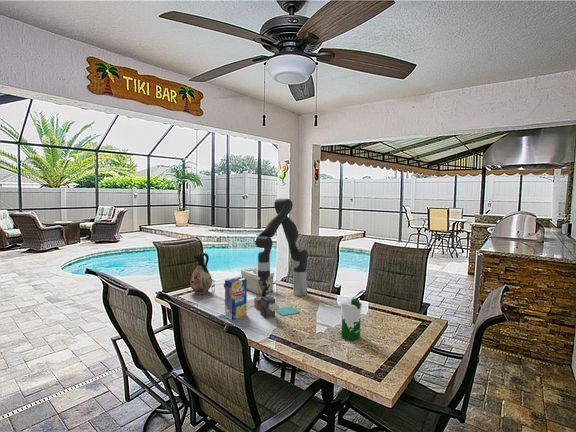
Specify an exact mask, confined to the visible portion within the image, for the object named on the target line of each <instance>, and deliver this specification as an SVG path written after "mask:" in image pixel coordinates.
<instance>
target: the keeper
mask: <svg viewBox="0 0 576 432" xmlns="http://www.w3.org/2000/svg"><path fill="white" fill-rule="evenodd" d="M260 297H261V309H260V315H261V316H262V317H263V318H264V319H270V318H275V317H276V311H272V310H270V309H269V308H268V307H267V302H274V303H276V298H274V297H273V296H272V295H266V297H262V296H260Z"/></svg>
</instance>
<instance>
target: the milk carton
mask: <svg viewBox="0 0 576 432" xmlns="http://www.w3.org/2000/svg"><path fill="white" fill-rule="evenodd" d="M362 304H363V302H360V299H359V298H351V299H347V300H345V301H343V302H341V304H340V305H341V335H340V336H341V337H340V338H342V339H346V340H349V341H351V342H355V341H356V340H358V339H359V338H360V337H361V316H362V315H361V313H362V306H363V305H362Z"/></svg>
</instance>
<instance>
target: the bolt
mask: <svg viewBox="0 0 576 432" xmlns="http://www.w3.org/2000/svg"><path fill="white" fill-rule="evenodd" d="M267 307H268V308H269V309H270V310H272V311H275V312H276V311H278V310H279V308H280V305H278V304H277V303H276V302H275V303H274V302H267Z"/></svg>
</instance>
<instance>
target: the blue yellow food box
mask: <svg viewBox="0 0 576 432" xmlns="http://www.w3.org/2000/svg"><path fill="white" fill-rule="evenodd" d="M224 284H225V288H224V317H225V318H226V319H229V320H231V321H233V320H236V319H238V318H239V319H240V318H241V317H244V316H247V314H248V313H247V310H248V309H247V307H248V306H247V305H248V304H247V300H248V299H247V297H248V296H247V293H248V291H247V290H248V289H247V279H245V278H242V276H241V277H240V276H238V277H237V276H236V277H234V278H229V279H224Z"/></svg>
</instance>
